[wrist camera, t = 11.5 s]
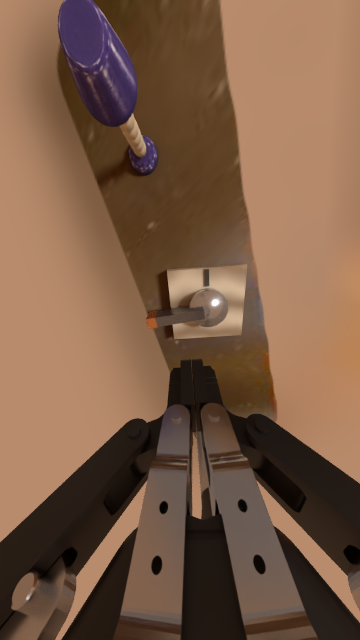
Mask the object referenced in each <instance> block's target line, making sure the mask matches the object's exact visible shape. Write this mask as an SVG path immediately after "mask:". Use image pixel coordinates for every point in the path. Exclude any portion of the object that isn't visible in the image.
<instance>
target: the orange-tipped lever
mask: <svg viewBox="0 0 360 640" xmlns="http://www.w3.org/2000/svg"><path fill="white" fill-rule="evenodd" d="M227 313H228V302H227V300H226V298H225V297H224V296H223V295H222V293H221V292H219V291H218V290H216V289H213V288H204V289H201V290H199V291H197V292H196V293H195V294H194V295H193V296H192V298H191V300H190V302H189V305H188V306H182V307H177V308H171V309H165V310H159V311H158V310H157V311H152V312H149V314H148V316H147V318H146V321H147V324H148V327H149V329H151V328H157V327H161V326H167V325H173V324H179V323H185V322H191V321H194V322H195V323H196V324H198V325H200V326H202V327H213V326H216V325H218V324H220V323H221V322H222V321H223V320H224V319H225V318H226V316H227Z"/></svg>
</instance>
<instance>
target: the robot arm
mask: <svg viewBox="0 0 360 640" xmlns="http://www.w3.org/2000/svg"><path fill="white" fill-rule="evenodd" d="M192 374H193V381H192ZM193 388H194V394H193ZM194 400H195V407H194ZM195 421H196V424H195ZM193 432H196V435H197V448H198V461H199V474H200V484H201V498H202V517H201V519H198V518H196V517H193V516H192V446H193ZM147 479H148V480H147ZM256 480H257V481H258V482H259V483H260V484H261V485H262V486H263V487H264V488H265V489H266V490H267V491H268V493H269V494H270V495H271V496H272V497H273V498H274V499H275V500H276V501H277V502H278V503H279V504H280V505H281V506H282V507H283V508H284V509H285V510H286V512H287V513H288V514H289V515H290V516H291V517H292V518H293V519H294V520H295V521H296V522H297V523H298V524H299V525H300V526H301V527H302V528H303V529H304V531H306V533H307V534H308V535H309V536H310V537H311V538H312V539H313V540H314V541H315V542H316V543H317V544H318V545H319V546H320V547H321V548H322V549H323V550H324V552H325V553H326V554H327V555H328V556H329V557H330V558H331V559H332V560H333V561H334V562H335V563H336V564H337V565H338V566H339V567H340V568H341V570H343V572H344V573H345V574H346V575H347V576H348V582H349V587H350V590H351V593H352V595H353V598H354V600H355V602H356V604H357V606H358V608H359V610H360V484H359V483H358V482H357V481H355V480H354V479H353V478H351V477H350V476H348V475H347V474H345V473H344V472H343V471H341V470H340V469H339V468H337V467H336V466H335V465H333V464H332V463H330V462H329V461H328V460H326V459H325V458H323V457H322V456H321V455H319V454H318V453H316V452H315V451H314V450H312V449H311V448H310V447H308V446H307V445H305V444H304V443H302V442H301V441H300V440H298V439H297V438H296V437H294V436H293V435H291V434H290V433H289V432H287V431H286V430H285V429H283V428H282V427H280V426H279V425H278V424H276V423H275V422H273V421H272V420H271V419H269V418H268V417H266V416H264V415H261V414H252V415H250V416H248V418H243V417H239V416H236V415H233V414H232V413H230V412H229V411H228V410H227V408H226V406H225V405H224V404H223V402H222V399H221V395H220V391H219V387H218V383H217V379H216V375H215V371H214V370H213V369H212V368H211V366H203V362H202V359H192V369H191V360H181V368H173V370H172V371H171V373H170V382H169V393H168V406H167V409H166V411H165V413H164V414H163V415H162V416H161V417H160V418H158V419H156V420H153V421H151V422H148V423H146V421H144V420H143V419H138V418H137V419H133V420H130V421H129V422H127V423H126V424H125V425H124V426H123V427H122V428H121V429H120V430H119V431H118V432H117V433H115V434H114V435H113V436H112V437H111V438H110V439H109V440H108V441H107V442H106V443H105V444H104V445H103V446H102V447H101V448H100V449H99V450H98V451H96V452H95V454H93V455H92V456H91V457H90V458H89V459H88V460H87V461H86V462H85V463H84V464H83V465H82V466H81V467H80V468H78V470H77V471H75V472H74V473H73V474H72V475H71V476H70V477H69V478H68V479H67V480H66V481H65V482H64V483H63V484H62V485H61V486H59V487H58V488H57V489H56V490H55V491H54V492H53V493H52V494H51V495H50V496H49V497H48V498H47V499H46V500H45V501H44V502H43V503H42V504H40V505H39V506H38V507H37V508H36V509H35V510H34V511H33V512H32V513H31V514H30V515H29V516H28V517H27V518H26V519H25V520H24V521H22V522H21V523H20V524H19V525H18V526H17V527H16V528H15V529H14V530H13V531H12V532H11V533H10V534H9V535H8V536H7V537H6V538H5V539H3V540H2V541H1V542H0V640H55V639H56V636H57V635H58V633H59V631H60V629H61V627H62V626H63V624H64V622H65V621H66V618H67V616H68V614H69V612H70V609H71V606H72V603H73V600H74V596H75V591H76V576H77V575H78V573H79V572H80V571H81V569H82V568H83V567H84V565H85V564H86V563H87V561H88V560H89V559H90V557H91V556H92V554H93V553H94V552H95V550H96V549H97V547H98V546H99V545H100V543H101V542H102V541H103V539H104V538H105V537H106V535H107V534H108V533H109V531H110V530H111V528H112V527H113V525H114V524H115V523H116V522H117V520H118V519H119V518H120V516H121V515H122V513H123V512H124V511H125V509H126V508H127V507H128V505H129V504H130V503H131V501H132V500H133V498H134V497H135V496H136V494H137V493H138V492H139V490H140V489H141V487H142V486H143V485H144V483H145V482H146V481H147V485H146V491H145V495H144V500H143V505H142V510H141V516H140V520H139V525H138V527H137V528H136V529H135V530H134V531H133V532H132V533H131V534H130V535H129V536H128V537H127V538H126V540H125V541H124V542H123V543H122V545H121V547H120V548H119V549H118V551H117V552H116V554H115V556H114V557H113V559H112V560H111V562H110V563H109V565H108V567H107V568H106V570H105V571H104V573H103V575H102V576H101V578H100V579H99V581H98V583H97V584H96V586H95V588H94V589H93V590H92V592H91V594H90V595H89V597H88V598H87V600H86V602H85V603H84V605H83V606H82V608H81V610H80V611H79V613H78V614H77V616H76V618H75V619H74V621H73V622H72V624H71V625H70V627H69V629H68V630H67V632H66V633H65V635H64V636H63V638H62V640H360V623H359V621H358V620H357V619H356V618H355V617H354V616H353V614H352V613H351V612H350V611H349V609H348V608H347V607H346V606H345V605H344V604H343V602H342V601H341V600H340V599H339V597H338V596H337V595H336V594H335V593H334V592H333V590H332V589H331V588H330V587H329V585H328V584H327V583H326V582H325V581H324V580H323V578H322V577H321V576H320V575H319V573H318V572H317V571H316V570H315V569H314V568H313V566H312V565H311V564H310V563H309V561H308V560H307V559H306V558H305V557H304V555H303V554H302V553H301V552H300V551H299V549H298V548H297V547H296V546H295V545H294V544H293V542H292V541H291V540H290V539H289V538H287V536H285V534H283V533H282V532H281V531H280V530H279V529H277V528H276V527H274V526H273V524H272V521H271V519H270V516H269V513H268V511H267V508H266V505H265V503H264V500H263V497H262V495H261V492H260V490H259V487H258V484H257V481H256Z"/></svg>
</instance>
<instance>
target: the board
mask: <svg viewBox="0 0 360 640" xmlns="http://www.w3.org/2000/svg"><path fill="white" fill-rule="evenodd" d="M246 272H247V264H243V263H242V264H230V265H217V266H205V267H193V268H180V269H168V270H167V276H168V286H169V295H170V304H171V308H177V307H182V306H188V305H189V302H190V300H191V298H192V296H193V295H194V294H195V293H196V292H197V291H199V290H201V289H204V288H213V289H216V290H218V291H219V292H221V293H222V295H223V296H224V297H225V298H226V300H227V302H228V313H227V316H226V318H225V319H224V320H223V321H222V322H221V323H220V324H218V325H216V326H213V327H202V326H200V325H198V324H196V323H195V322H194V321H191V322H185V323H179V324H173V332H174V339H183V338H199V337H215V336H230V335H241V331H242V319H243V307H244V295H245V284H246Z"/></svg>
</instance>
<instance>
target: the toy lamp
mask: <svg viewBox="0 0 360 640" xmlns="http://www.w3.org/2000/svg"><path fill="white" fill-rule="evenodd" d="M58 32H59V38H60V42H61V46H62V49H63V53H64V56H65V58H66V61H67V64H68V66H69V69H70V71H71V74H72V77H73V79H74V82H75V84H76V87H77V89H78V92H79V94H80V97H81V99H82V101H83V103H84V105H85V106H86V108H87V109H88V111H89V112H90V113H91V115H92V116H93V117H94V118H95V119H96V120H97V121H99V122H100V123H102V124H104V125H106V126H110V127H118V126H119V127H120V128H121V129H122V132H123V134H124V136H125V137H126V139H127V141H128V143H129V144H130V146H129V159H130V162H131V165H132V166H133V168H134V169H135V170H136V171H137V172H138V173H140V174H143V175H148V174H150V173H152V172H153V171H154V169H155V168H156V166H157V162H158V152H157V148H156V146H155V144H154V143H153V141H152V140H151V139H150V138H148V137H147V136H144V135H141V132H140V130H139V128H138V125H137V122H136V120H135V119H134V115H133V111H134V109H135V105H136V100H137V79H136V74H135V70H134V66H133V64H132V61H131V59H130V57H129V55H128V53H127V51H126V49H125V47H124V46H123V44H122V43H121V41H120V39H119V38H118V36H117V35H116V33H115V31H114V30H113V28H112V27H111V25H110V24H109V22H108V21H107V19H106V18H105V16H104V14H103V13H102V11H101V10H100V9H99V7H98V6H97V5H96V4H95V3H94V2H93V1H92V0H64V1H63V3H62V5H61V7H60V10H59V16H58Z"/></svg>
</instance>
